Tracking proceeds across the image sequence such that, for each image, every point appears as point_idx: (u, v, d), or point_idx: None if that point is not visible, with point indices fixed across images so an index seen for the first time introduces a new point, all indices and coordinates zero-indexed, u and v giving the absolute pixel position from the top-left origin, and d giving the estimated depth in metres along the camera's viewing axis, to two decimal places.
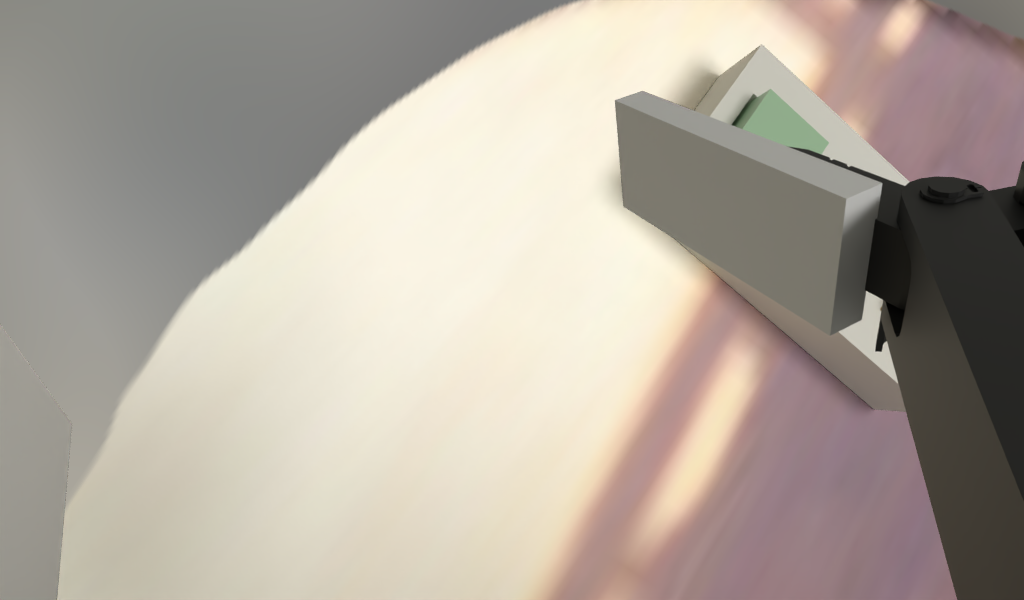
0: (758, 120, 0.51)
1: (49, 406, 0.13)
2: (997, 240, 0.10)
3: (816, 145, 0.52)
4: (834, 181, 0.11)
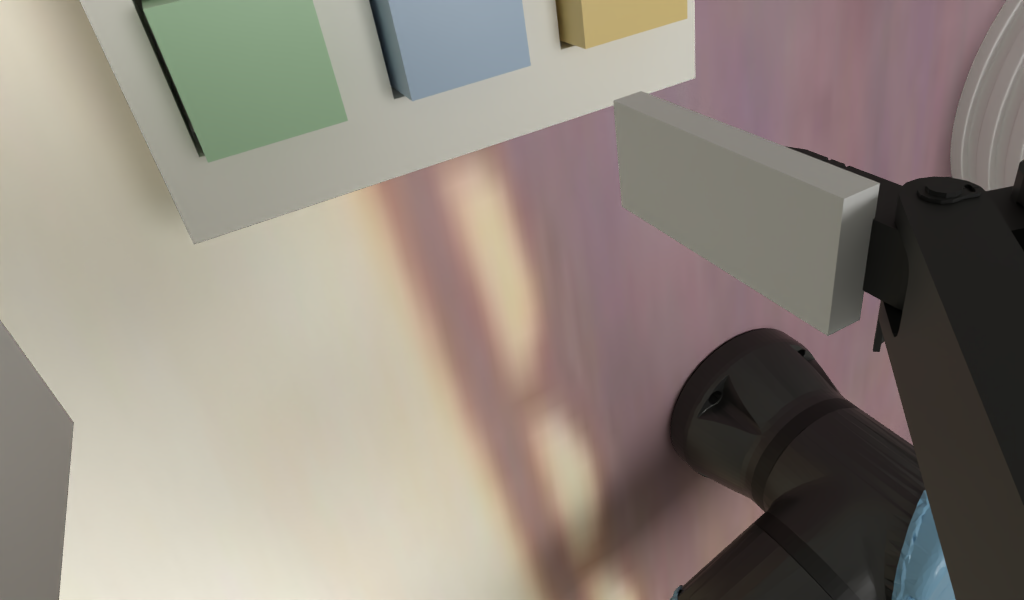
0: (189, 77, 0.27)
1: (50, 405, 0.13)
2: (994, 240, 0.10)
3: (294, 0, 0.27)
4: (831, 181, 0.11)
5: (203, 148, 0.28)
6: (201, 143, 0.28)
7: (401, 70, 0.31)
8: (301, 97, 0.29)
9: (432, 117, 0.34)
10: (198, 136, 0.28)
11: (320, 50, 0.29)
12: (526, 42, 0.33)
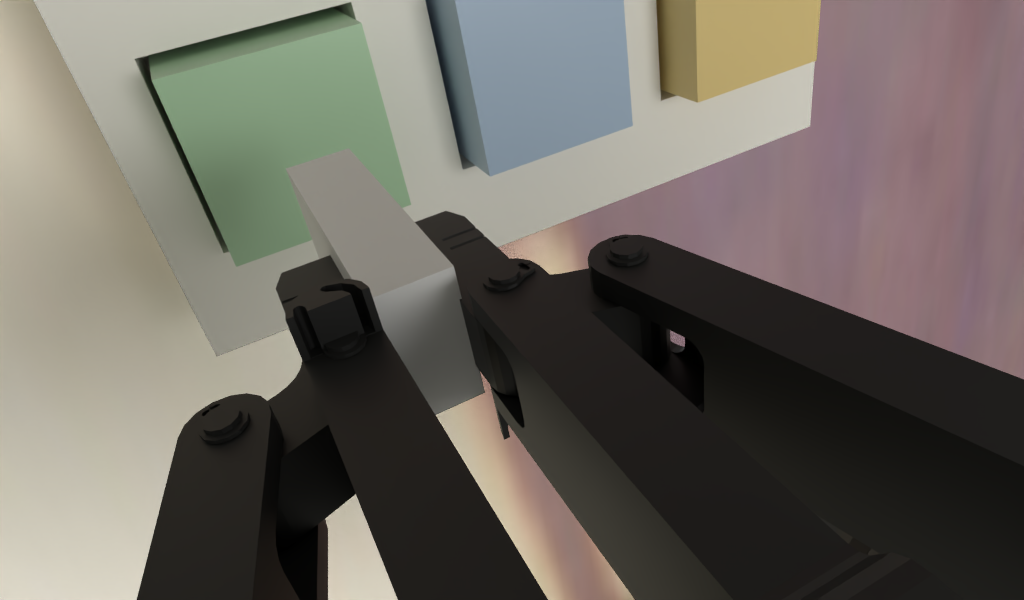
0: (213, 163, 0.21)
1: None
2: (568, 312, 0.10)
3: (347, 59, 0.21)
4: (416, 262, 0.11)
5: (230, 249, 0.22)
6: (227, 244, 0.22)
7: (476, 138, 0.25)
8: None
9: (507, 189, 0.28)
10: (224, 235, 0.22)
11: (379, 121, 0.22)
12: (628, 97, 0.26)
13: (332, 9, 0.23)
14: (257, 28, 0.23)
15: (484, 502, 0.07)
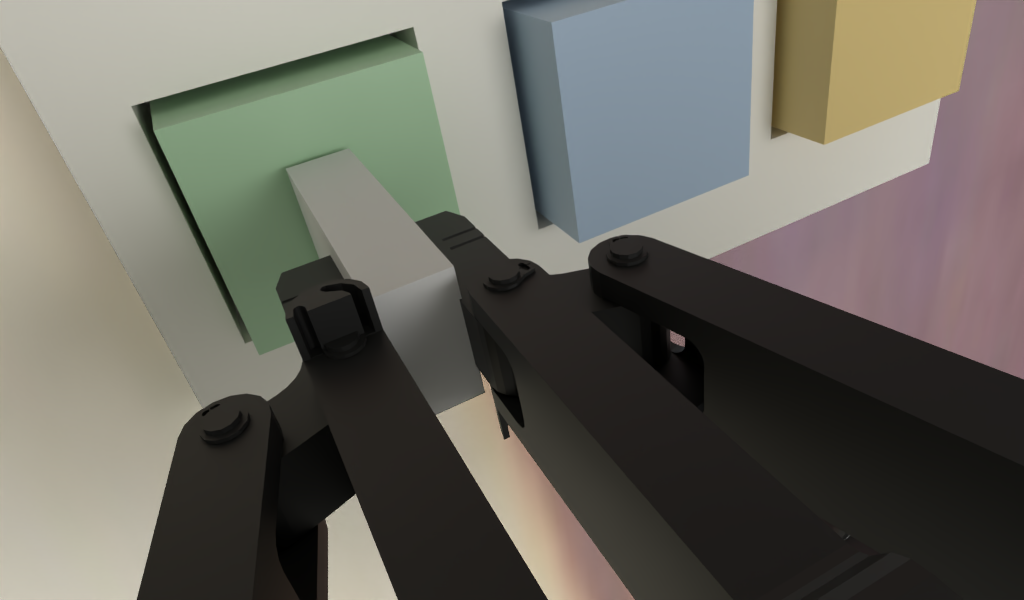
0: (232, 232, 0.16)
1: None
2: (568, 312, 0.10)
3: (404, 98, 0.16)
4: (416, 262, 0.11)
5: (252, 335, 0.18)
6: (249, 328, 0.17)
7: (563, 195, 0.20)
8: None
9: (589, 249, 0.23)
10: (244, 319, 0.17)
11: (439, 172, 0.18)
12: (745, 141, 0.21)
13: None
14: None
15: (484, 502, 0.07)
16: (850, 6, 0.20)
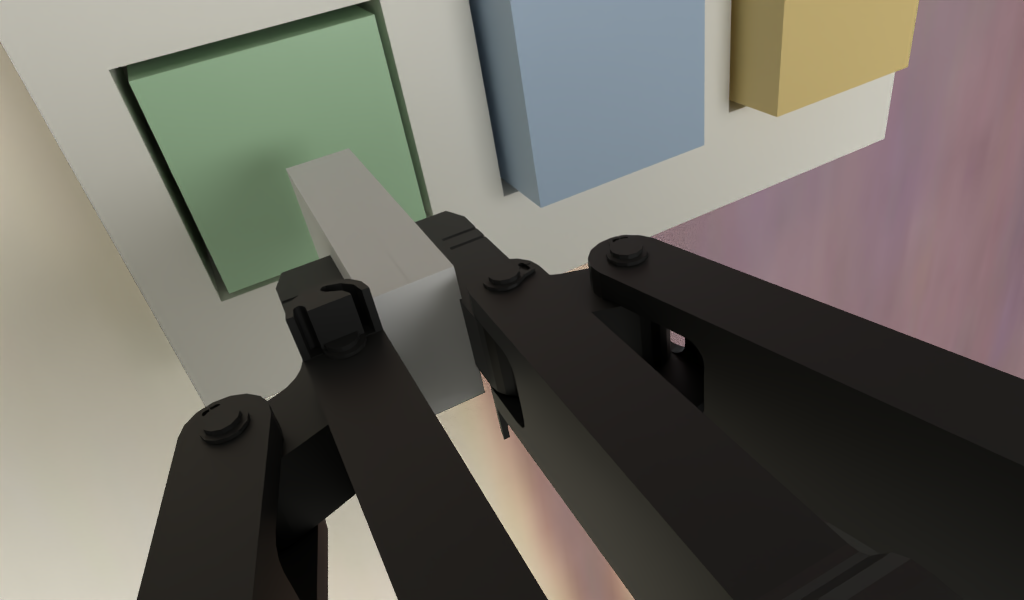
0: (202, 177, 0.18)
1: None
2: (568, 312, 0.10)
3: (358, 57, 0.18)
4: (416, 262, 0.11)
5: (222, 274, 0.19)
6: (219, 268, 0.19)
7: (525, 162, 0.21)
8: None
9: (553, 216, 0.24)
10: (215, 259, 0.19)
11: (393, 127, 0.19)
12: (701, 112, 0.22)
13: None
14: None
15: (484, 502, 0.07)
16: None
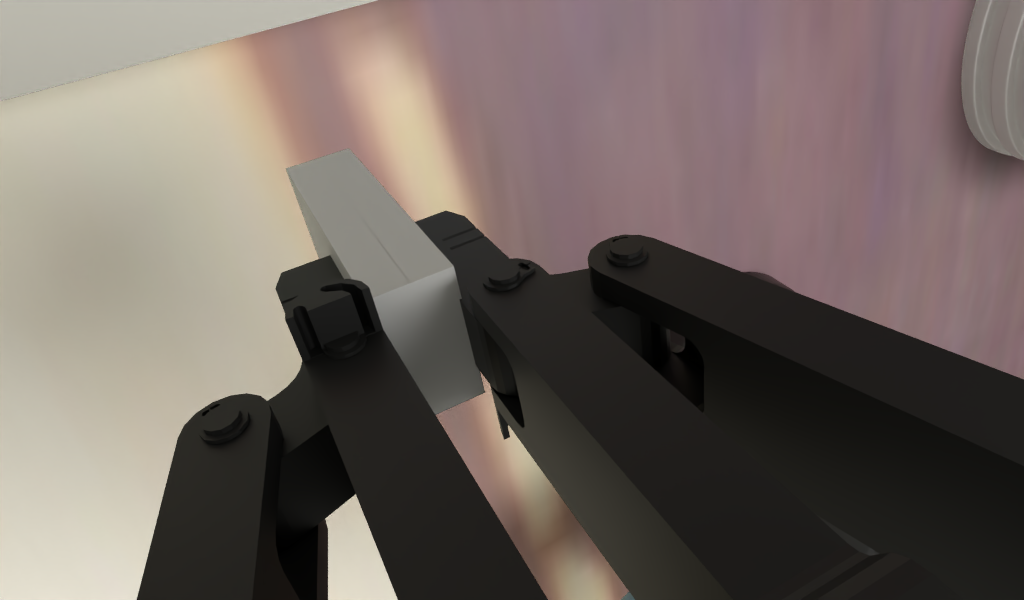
0: None
1: None
2: (568, 312, 0.10)
3: None
4: (416, 262, 0.11)
5: None
6: None
7: None
8: None
9: None
10: None
11: None
12: None
13: None
14: None
15: (483, 502, 0.07)
16: None
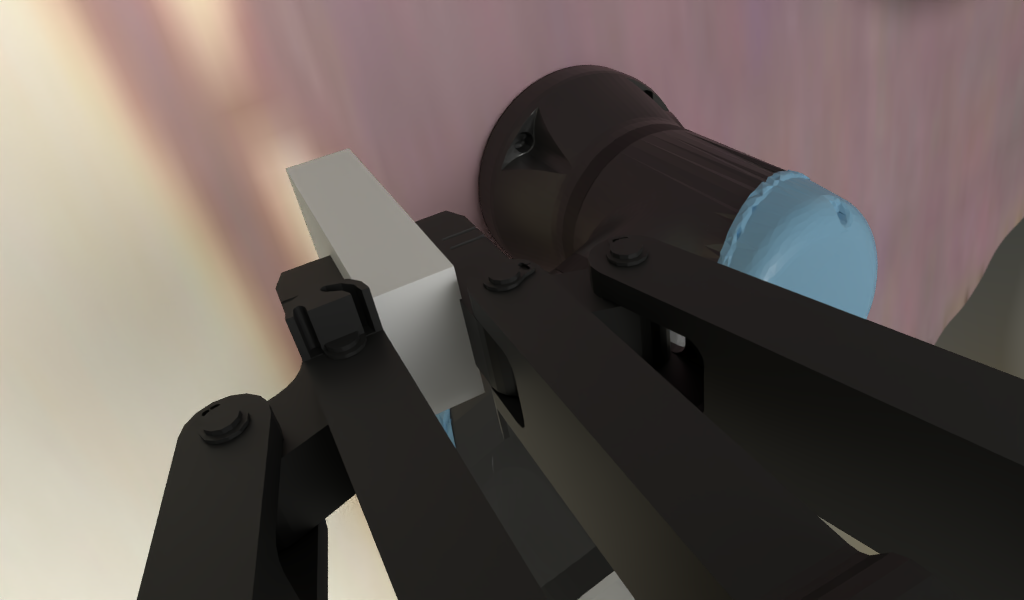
0: None
1: None
2: (568, 312, 0.10)
3: None
4: (416, 262, 0.11)
5: None
6: None
7: None
8: None
9: None
10: None
11: None
12: None
13: None
14: None
15: (484, 502, 0.07)
16: None
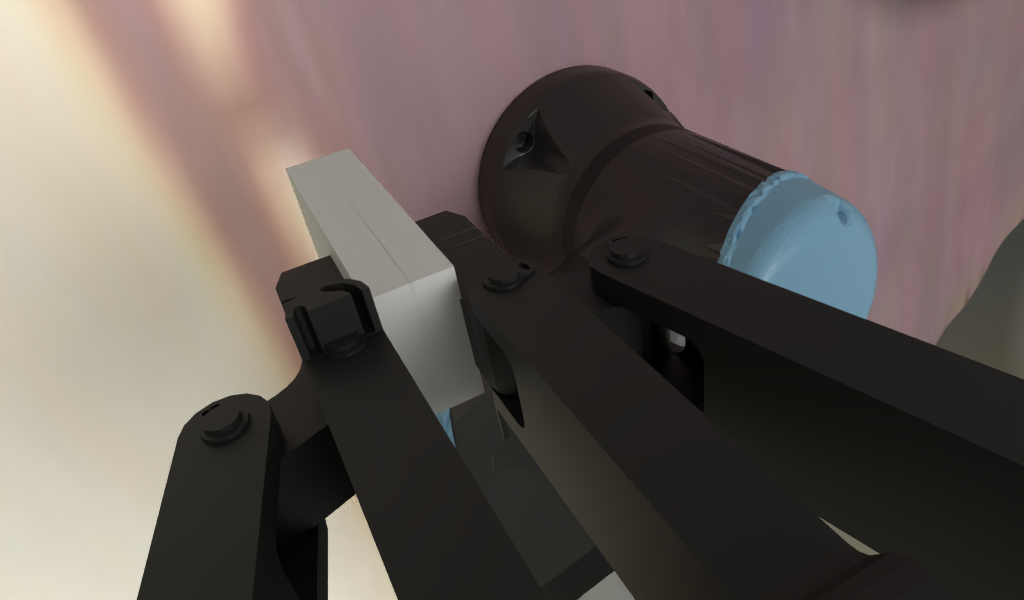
0: None
1: None
2: (568, 312, 0.10)
3: None
4: (416, 262, 0.11)
5: None
6: None
7: None
8: None
9: None
10: None
11: None
12: None
13: None
14: None
15: (484, 502, 0.07)
16: None
